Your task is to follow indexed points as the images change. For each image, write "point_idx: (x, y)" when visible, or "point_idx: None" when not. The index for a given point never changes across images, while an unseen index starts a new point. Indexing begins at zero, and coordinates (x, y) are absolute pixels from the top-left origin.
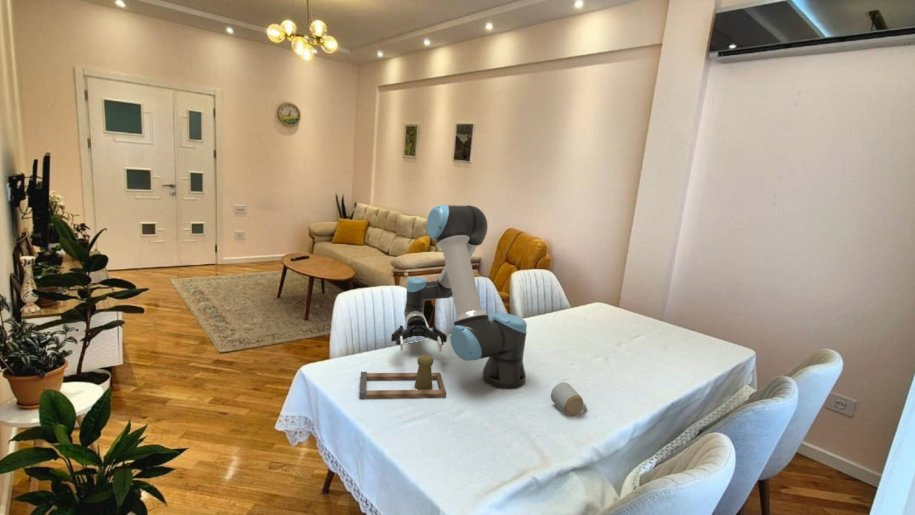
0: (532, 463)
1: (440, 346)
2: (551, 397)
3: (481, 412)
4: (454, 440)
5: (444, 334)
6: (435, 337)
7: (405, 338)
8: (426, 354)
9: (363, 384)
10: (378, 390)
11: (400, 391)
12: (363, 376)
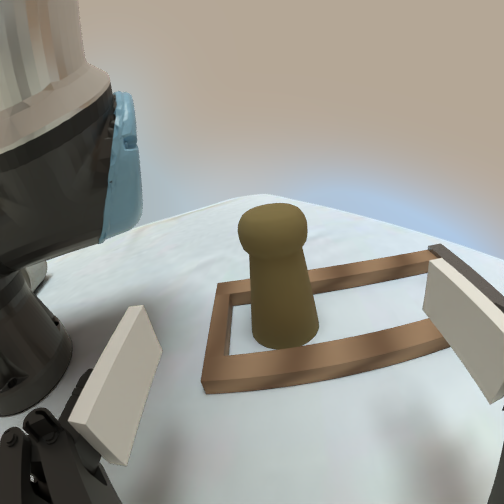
0: (157, 225)
1: (145, 321)
2: (33, 279)
3: (161, 269)
4: (237, 227)
5: (4, 460)
6: (102, 494)
7: (495, 484)
8: (264, 219)
9: (458, 264)
10: (411, 263)
11: (352, 270)
12: (487, 288)
